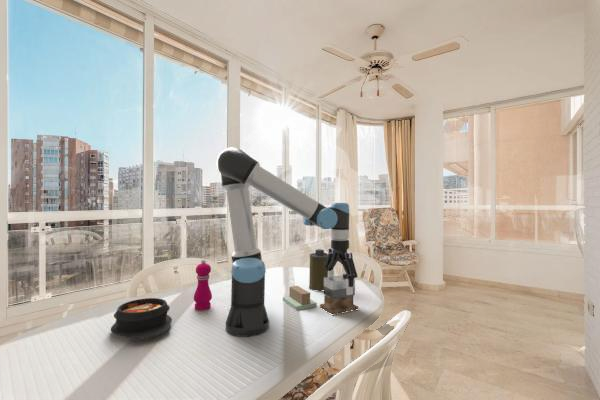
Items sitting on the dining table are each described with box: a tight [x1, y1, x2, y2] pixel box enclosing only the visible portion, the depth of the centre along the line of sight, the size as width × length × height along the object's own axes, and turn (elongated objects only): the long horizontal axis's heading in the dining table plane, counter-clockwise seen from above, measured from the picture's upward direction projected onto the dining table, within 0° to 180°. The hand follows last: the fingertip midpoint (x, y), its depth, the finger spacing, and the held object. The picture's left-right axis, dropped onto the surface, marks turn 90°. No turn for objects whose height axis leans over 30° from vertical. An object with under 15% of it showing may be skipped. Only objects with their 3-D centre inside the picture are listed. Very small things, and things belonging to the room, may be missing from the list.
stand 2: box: [319, 294, 359, 315], centre depth 125 cm, size 13×9×6 cm
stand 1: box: [282, 285, 318, 311], centre depth 130 cm, size 10×13×6 cm
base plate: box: [323, 286, 356, 299], centre depth 125 cm, size 11×7×4 cm, turn 118°
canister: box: [308, 248, 328, 292], centre depth 154 cm, size 11×10×20 cm
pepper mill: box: [193, 259, 213, 311], centre depth 123 cm, size 7×7×20 cm
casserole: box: [110, 297, 173, 341], centre depth 102 cm, size 25×19×8 cm
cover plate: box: [324, 273, 356, 290], centre depth 125 cm, size 11×7×5 cm, turn 118°
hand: (339, 289), depth 125 cm, fingers open, 13 cm apart
